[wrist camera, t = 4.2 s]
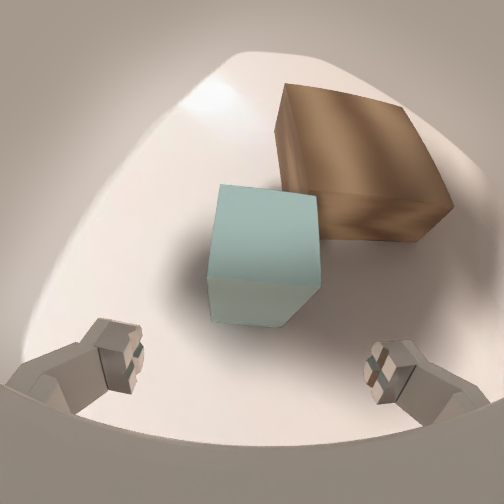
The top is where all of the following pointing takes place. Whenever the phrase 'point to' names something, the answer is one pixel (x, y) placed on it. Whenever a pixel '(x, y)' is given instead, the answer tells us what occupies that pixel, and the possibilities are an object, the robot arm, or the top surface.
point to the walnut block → (358, 166)
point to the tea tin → (262, 256)
